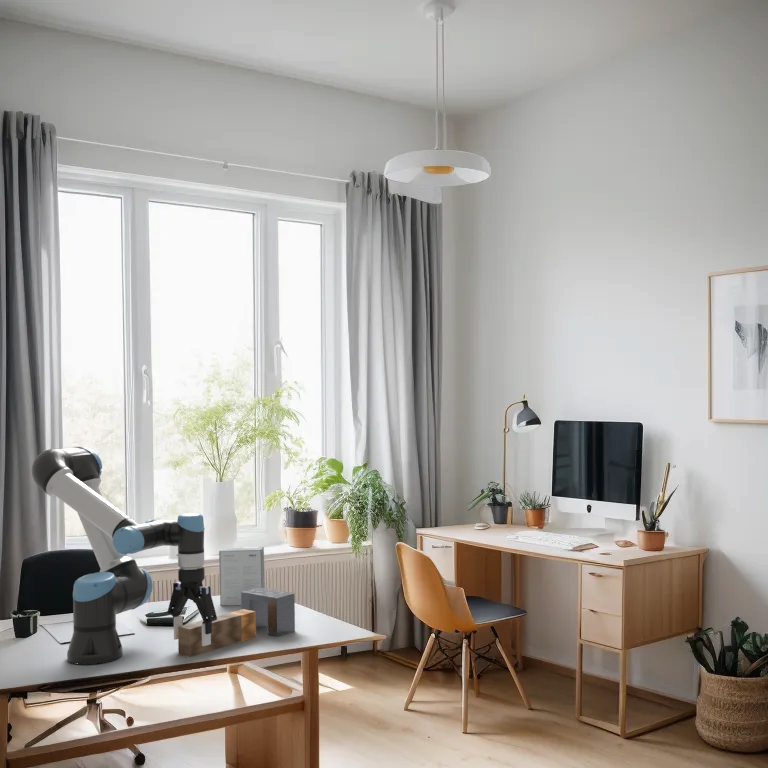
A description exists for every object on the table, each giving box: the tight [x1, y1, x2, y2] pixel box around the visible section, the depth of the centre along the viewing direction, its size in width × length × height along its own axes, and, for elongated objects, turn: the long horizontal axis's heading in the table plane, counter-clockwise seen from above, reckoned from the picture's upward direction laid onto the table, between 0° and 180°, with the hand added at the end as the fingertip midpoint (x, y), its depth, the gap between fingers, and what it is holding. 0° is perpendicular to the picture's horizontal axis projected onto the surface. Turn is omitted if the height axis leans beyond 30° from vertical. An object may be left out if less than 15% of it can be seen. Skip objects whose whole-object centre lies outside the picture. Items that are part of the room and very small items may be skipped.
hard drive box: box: [218, 546, 266, 607], centre depth 318 cm, size 16×8×20 cm, turn 89°
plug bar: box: [177, 609, 257, 658], centre depth 262 cm, size 26×6×8 cm, turn 143°
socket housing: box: [240, 587, 296, 638], centre depth 279 cm, size 8×16×12 cm, turn 53°
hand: (192, 641), depth 254 cm, fingers open, 12 cm apart
